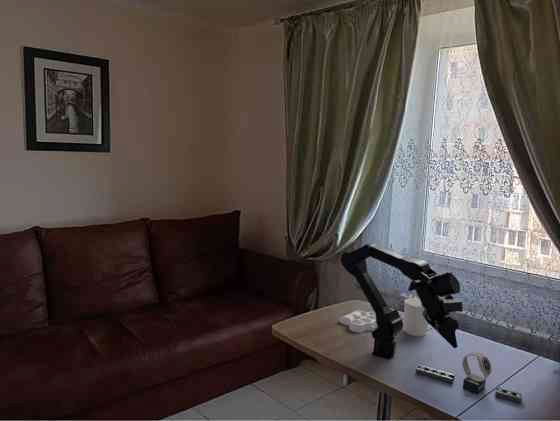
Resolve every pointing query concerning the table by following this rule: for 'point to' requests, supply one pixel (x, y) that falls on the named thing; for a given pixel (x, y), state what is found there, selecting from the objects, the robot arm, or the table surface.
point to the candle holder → (414, 318)
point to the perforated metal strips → (449, 378)
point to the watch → (473, 381)
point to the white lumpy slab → (360, 321)
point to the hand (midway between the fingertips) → (451, 342)
